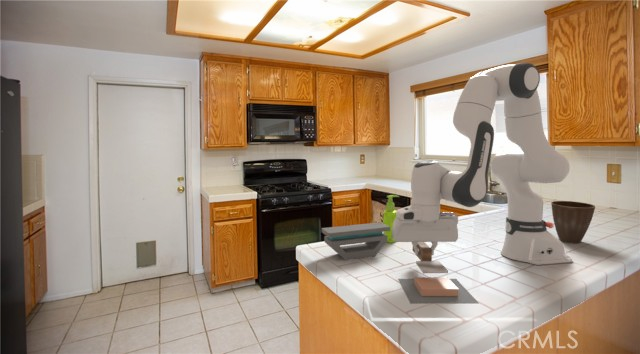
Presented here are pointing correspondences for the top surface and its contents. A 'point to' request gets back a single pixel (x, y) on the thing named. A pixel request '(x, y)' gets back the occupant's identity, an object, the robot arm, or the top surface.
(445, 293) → the tile
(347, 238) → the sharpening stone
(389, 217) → the soap dispenser
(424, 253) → the turner
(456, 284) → the mat
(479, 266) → the top surface
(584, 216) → the plant pot
